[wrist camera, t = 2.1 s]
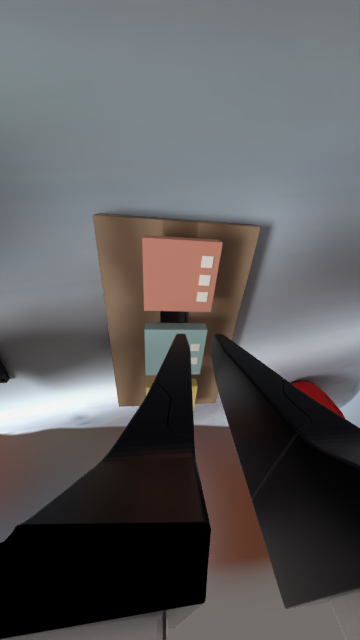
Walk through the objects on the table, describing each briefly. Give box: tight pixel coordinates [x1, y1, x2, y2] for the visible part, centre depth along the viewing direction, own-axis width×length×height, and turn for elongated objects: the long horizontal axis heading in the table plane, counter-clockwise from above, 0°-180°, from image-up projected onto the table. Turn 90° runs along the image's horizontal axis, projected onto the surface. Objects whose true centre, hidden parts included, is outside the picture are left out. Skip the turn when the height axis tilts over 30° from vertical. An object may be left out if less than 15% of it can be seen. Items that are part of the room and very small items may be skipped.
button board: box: [93, 213, 261, 406], centre depth 23 cm, size 14×24×2 cm, turn 176°
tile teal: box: [144, 323, 207, 375], centre depth 21 cm, size 6×6×3 cm
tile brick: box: [142, 235, 223, 312], centre depth 17 cm, size 6×6×3 cm
